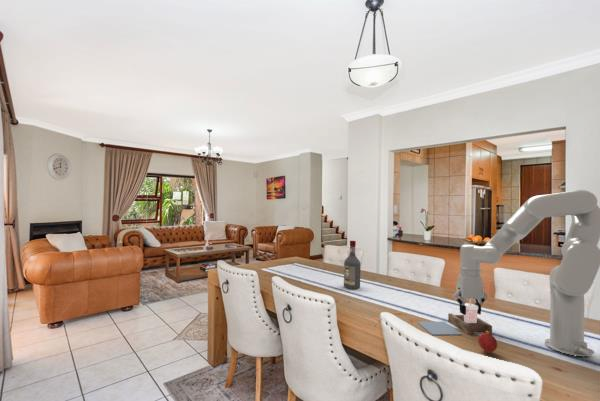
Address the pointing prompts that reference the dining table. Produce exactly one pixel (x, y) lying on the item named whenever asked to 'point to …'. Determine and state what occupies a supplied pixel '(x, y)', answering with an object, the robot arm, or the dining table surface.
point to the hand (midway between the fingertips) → (470, 313)
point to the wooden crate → (469, 324)
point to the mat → (439, 328)
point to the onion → (487, 342)
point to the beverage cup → (471, 313)
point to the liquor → (352, 269)
